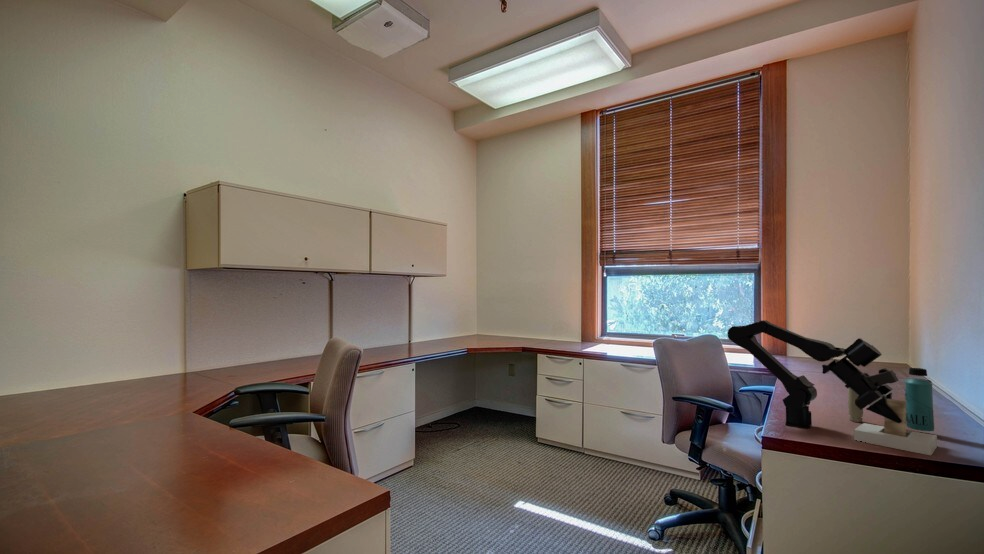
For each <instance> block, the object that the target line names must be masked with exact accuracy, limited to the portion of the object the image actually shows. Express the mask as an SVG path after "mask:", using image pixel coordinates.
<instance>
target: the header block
mask: <svg viewBox="0 0 984 554" xmlns="http://www.w3.org/2000/svg"><path fill="white" fill-rule="evenodd" d="M853 440H854V441H855V440H857V441H856V442H860V441H862V442H861V443H865V442H866V443H865V444H871V445H876V446H881V447H886V448H891V449H892V448H893V449H895V450H896V449H897V450H902V451H905V452H912V453H917V454H921V455H927V456H932V455H933V453H934V452H935V450H936V449H937V447H938V436H937V435H936V434H930V433H926V432H925V433H924V432H918V431H912V430H907V429H906V437H903V436H898V435H892V434H886V433H884V426H883V425H877V424H872V423H865V422H862V424H860V425H859V426H857V427H855V429H853Z"/></svg>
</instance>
